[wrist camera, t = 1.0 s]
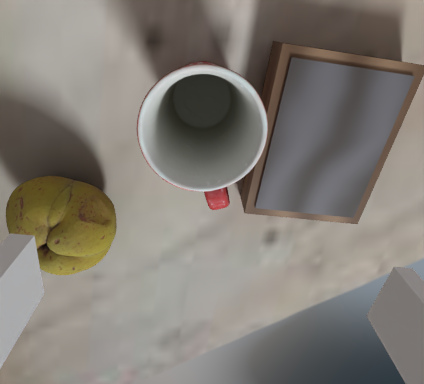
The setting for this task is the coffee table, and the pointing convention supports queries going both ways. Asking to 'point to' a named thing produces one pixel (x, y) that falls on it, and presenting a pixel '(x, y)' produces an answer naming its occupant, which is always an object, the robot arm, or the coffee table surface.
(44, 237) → the fruit
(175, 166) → the mug
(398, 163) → the coffee table surface
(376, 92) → the stand
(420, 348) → the robot arm
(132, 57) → the coffee table surface
